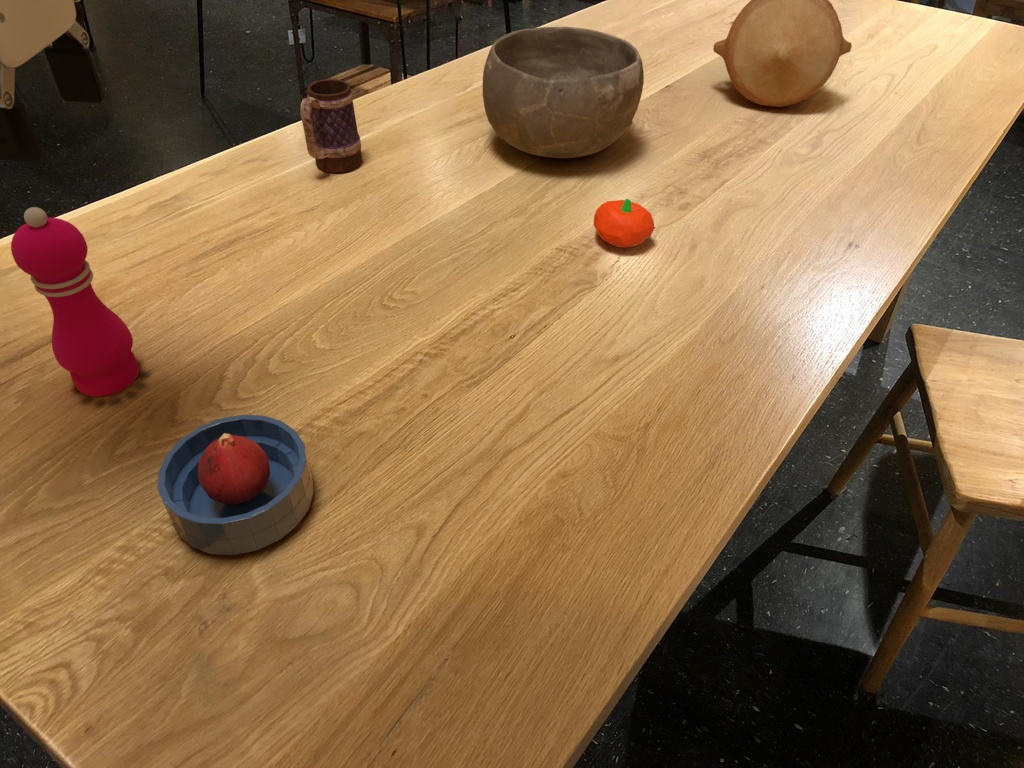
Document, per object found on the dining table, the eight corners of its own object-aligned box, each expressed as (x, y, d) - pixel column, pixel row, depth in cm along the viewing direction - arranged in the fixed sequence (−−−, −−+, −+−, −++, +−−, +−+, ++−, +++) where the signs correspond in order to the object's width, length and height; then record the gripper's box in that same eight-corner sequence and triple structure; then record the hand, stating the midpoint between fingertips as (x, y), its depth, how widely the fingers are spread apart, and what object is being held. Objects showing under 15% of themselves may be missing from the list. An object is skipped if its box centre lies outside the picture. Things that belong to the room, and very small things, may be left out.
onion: (227, 534, 66) (204, 474, 60) (198, 494, 69) (174, 433, 63) (288, 500, 69) (271, 439, 63) (257, 462, 72) (239, 401, 66)
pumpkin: (607, 220, 106) (612, 177, 102) (658, 239, 103) (666, 196, 98) (580, 242, 102) (584, 199, 97) (633, 263, 98) (640, 219, 94)
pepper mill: (70, 363, 82) (-13, 196, 68) (142, 347, 84) (76, 182, 70) (71, 408, 77) (-18, 237, 63) (147, 389, 79) (77, 221, 65)
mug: (333, 148, 119) (321, 71, 111) (371, 158, 117) (363, 80, 109) (293, 176, 113) (278, 96, 104) (333, 187, 111) (322, 106, 102)
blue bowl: (152, 555, 65) (134, 519, 61) (200, 448, 74) (186, 411, 70) (296, 562, 65) (286, 526, 61) (327, 453, 73) (319, 417, 70)
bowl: (666, 158, 120) (683, 61, 110) (541, 199, 110) (547, 96, 99) (572, 103, 134) (579, 12, 124) (454, 134, 124) (451, 39, 114)
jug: (702, 39, 125) (701, 6, 149) (751, 139, 133) (743, 92, 157) (824, -34, 116) (802, -58, 140) (869, 77, 124) (841, 37, 148)
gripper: (-34, -175, 51) (59, 79, 63) (-226, -123, 39) (-65, 182, 51) (77, -169, 51) (150, 84, 63) (-79, -115, 39) (48, 189, 51)
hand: (54, 127), depth 57 cm, fingers open, 9 cm apart
